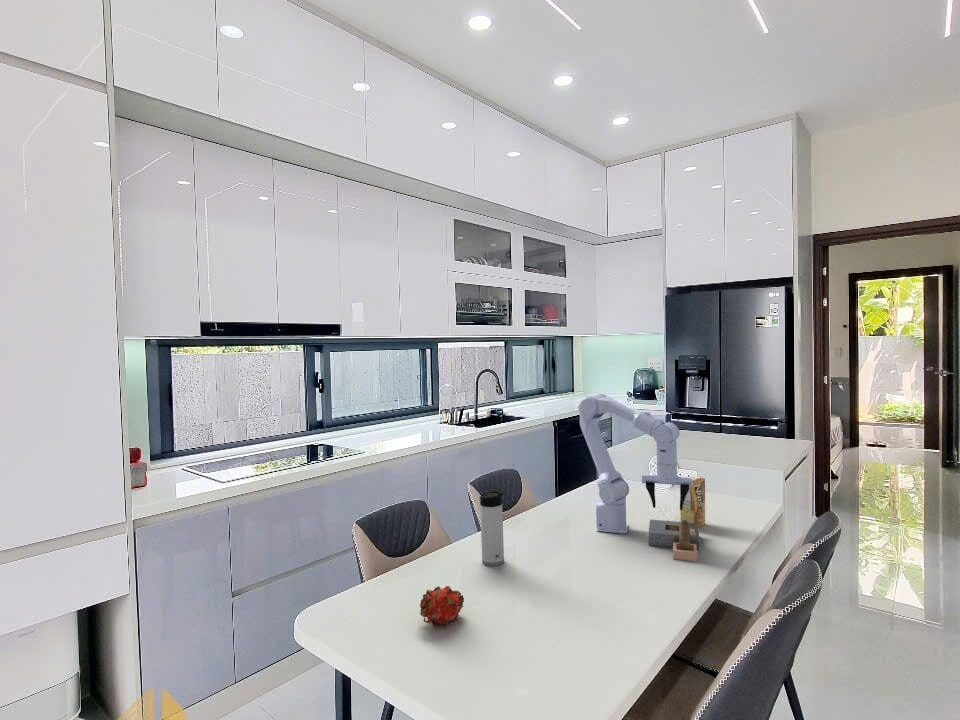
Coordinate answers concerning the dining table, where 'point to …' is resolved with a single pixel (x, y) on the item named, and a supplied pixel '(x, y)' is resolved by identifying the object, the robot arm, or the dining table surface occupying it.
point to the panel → (670, 533)
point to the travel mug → (492, 528)
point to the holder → (684, 552)
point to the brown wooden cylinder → (684, 535)
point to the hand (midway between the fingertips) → (667, 507)
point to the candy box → (695, 503)
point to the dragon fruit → (441, 605)
